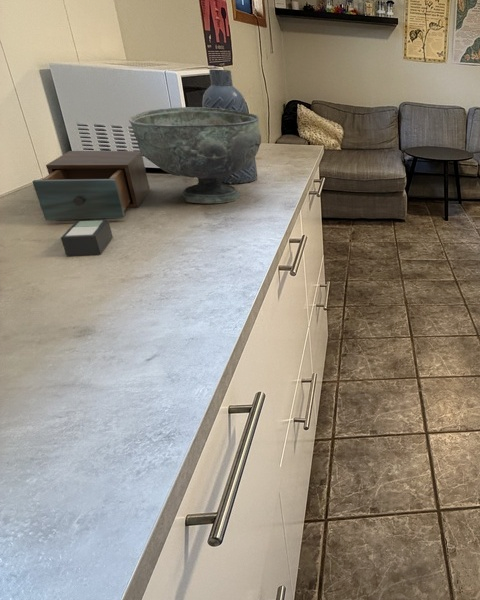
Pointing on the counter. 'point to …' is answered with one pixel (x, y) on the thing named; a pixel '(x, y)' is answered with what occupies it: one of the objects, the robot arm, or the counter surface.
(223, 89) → the vase
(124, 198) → the drawer
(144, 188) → the cabinet
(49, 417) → the counter surface
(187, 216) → the counter surface
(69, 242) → the dark grey block
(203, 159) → the decorative bowl
